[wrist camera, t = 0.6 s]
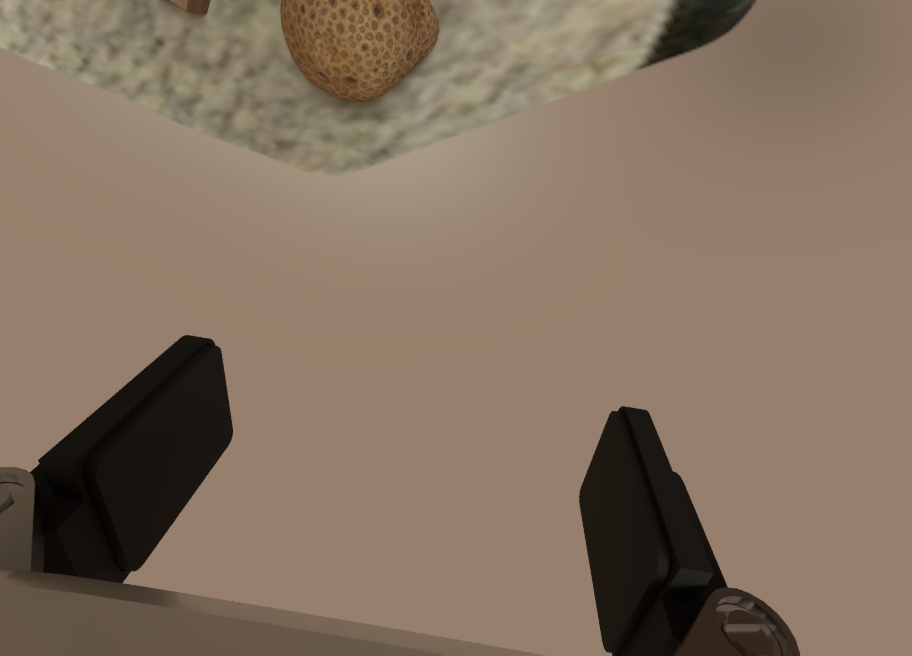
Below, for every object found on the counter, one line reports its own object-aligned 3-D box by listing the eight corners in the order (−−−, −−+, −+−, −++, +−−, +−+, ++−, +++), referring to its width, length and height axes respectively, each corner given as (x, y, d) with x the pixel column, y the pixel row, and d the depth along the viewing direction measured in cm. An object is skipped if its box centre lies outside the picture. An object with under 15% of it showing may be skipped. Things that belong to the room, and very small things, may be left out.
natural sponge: (288, -18, 32) (208, -47, 24) (401, -91, 30) (358, -153, 21) (354, 114, 36) (306, 131, 27) (459, 59, 34) (443, 59, 25)
